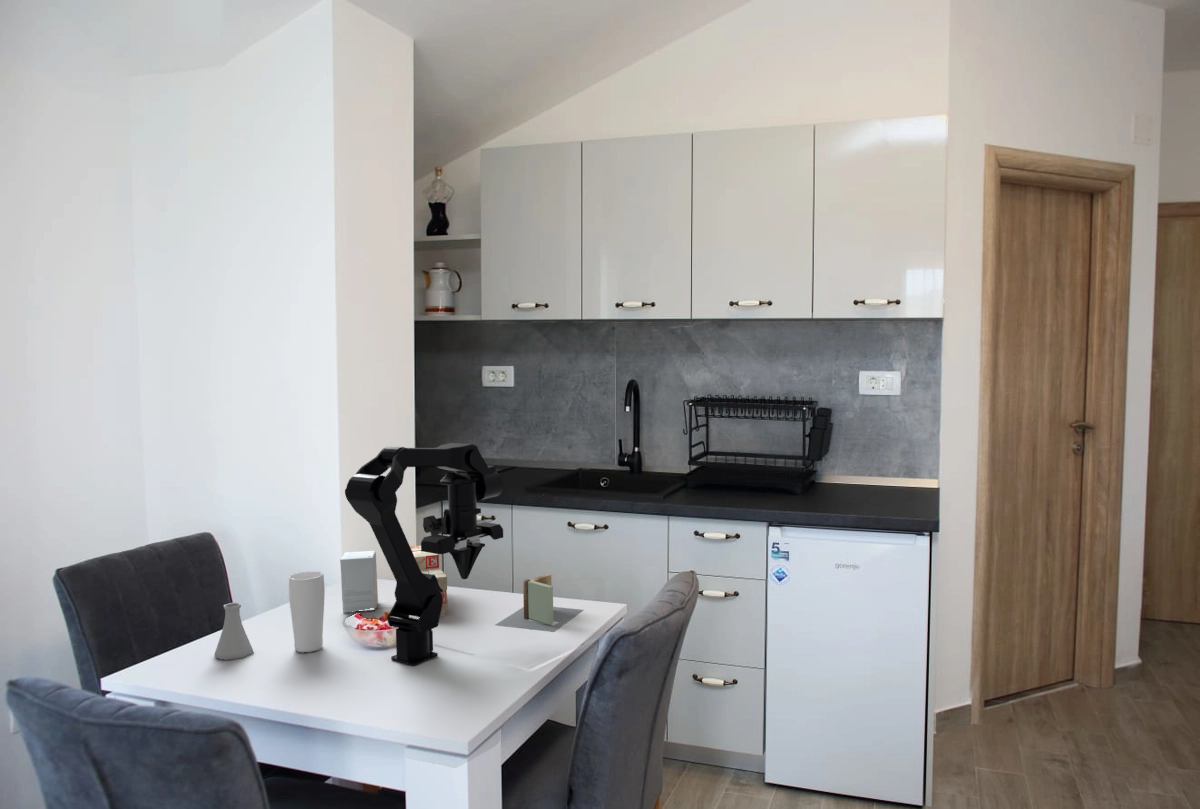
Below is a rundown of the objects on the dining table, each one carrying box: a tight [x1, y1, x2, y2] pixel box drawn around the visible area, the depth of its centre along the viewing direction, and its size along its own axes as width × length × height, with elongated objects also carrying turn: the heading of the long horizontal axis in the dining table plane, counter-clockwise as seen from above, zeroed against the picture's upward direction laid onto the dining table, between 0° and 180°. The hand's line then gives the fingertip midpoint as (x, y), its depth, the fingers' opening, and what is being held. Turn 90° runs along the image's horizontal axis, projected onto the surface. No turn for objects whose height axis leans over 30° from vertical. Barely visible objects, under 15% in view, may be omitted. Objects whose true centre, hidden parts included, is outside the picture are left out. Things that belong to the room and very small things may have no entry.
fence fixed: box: [522, 573, 553, 619], centre depth 188 cm, size 9×2×8 cm, turn 144°
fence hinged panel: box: [528, 581, 554, 624], centre depth 182 cm, size 7×1×8 cm, turn 45°
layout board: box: [495, 606, 584, 633], centre depth 186 cm, size 16×14×1 cm
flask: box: [214, 602, 254, 661], centre depth 167 cm, size 7×7×10 cm
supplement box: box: [339, 550, 379, 614], centre depth 197 cm, size 7×7×13 cm
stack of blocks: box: [410, 545, 448, 617], centre depth 198 cm, size 21×6×12 cm, turn 21°
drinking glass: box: [288, 570, 326, 653], centre depth 169 cm, size 7×7×15 cm
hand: (464, 578), depth 175 cm, fingers closed
